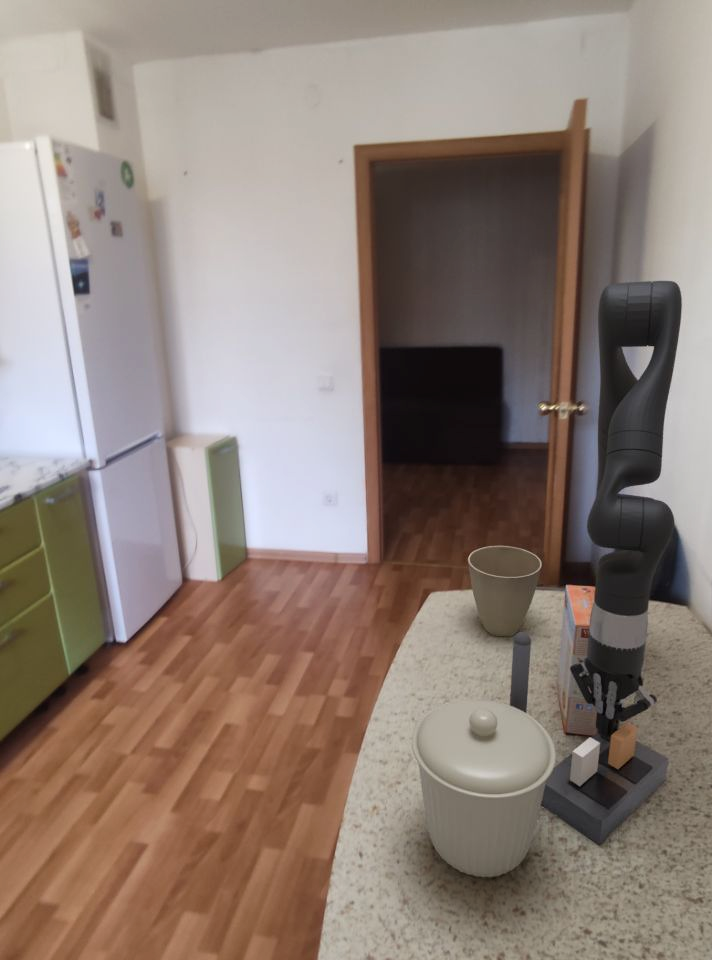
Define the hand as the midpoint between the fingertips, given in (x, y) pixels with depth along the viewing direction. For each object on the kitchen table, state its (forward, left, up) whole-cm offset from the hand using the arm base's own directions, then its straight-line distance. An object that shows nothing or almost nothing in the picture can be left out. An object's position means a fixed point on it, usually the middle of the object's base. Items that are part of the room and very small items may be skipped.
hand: (605, 733), depth 98 cm
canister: (+24, -4, -8) cm, 25 cm away
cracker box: (-11, -11, -8) cm, 17 cm away
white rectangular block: (+7, +1, -4) cm, 8 cm away
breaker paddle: (0, +3, -4) cm, 4 cm away
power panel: (+3, +2, -8) cm, 8 cm away
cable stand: (+11, -8, -8) cm, 16 cm away
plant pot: (-22, -37, -8) cm, 44 cm away
